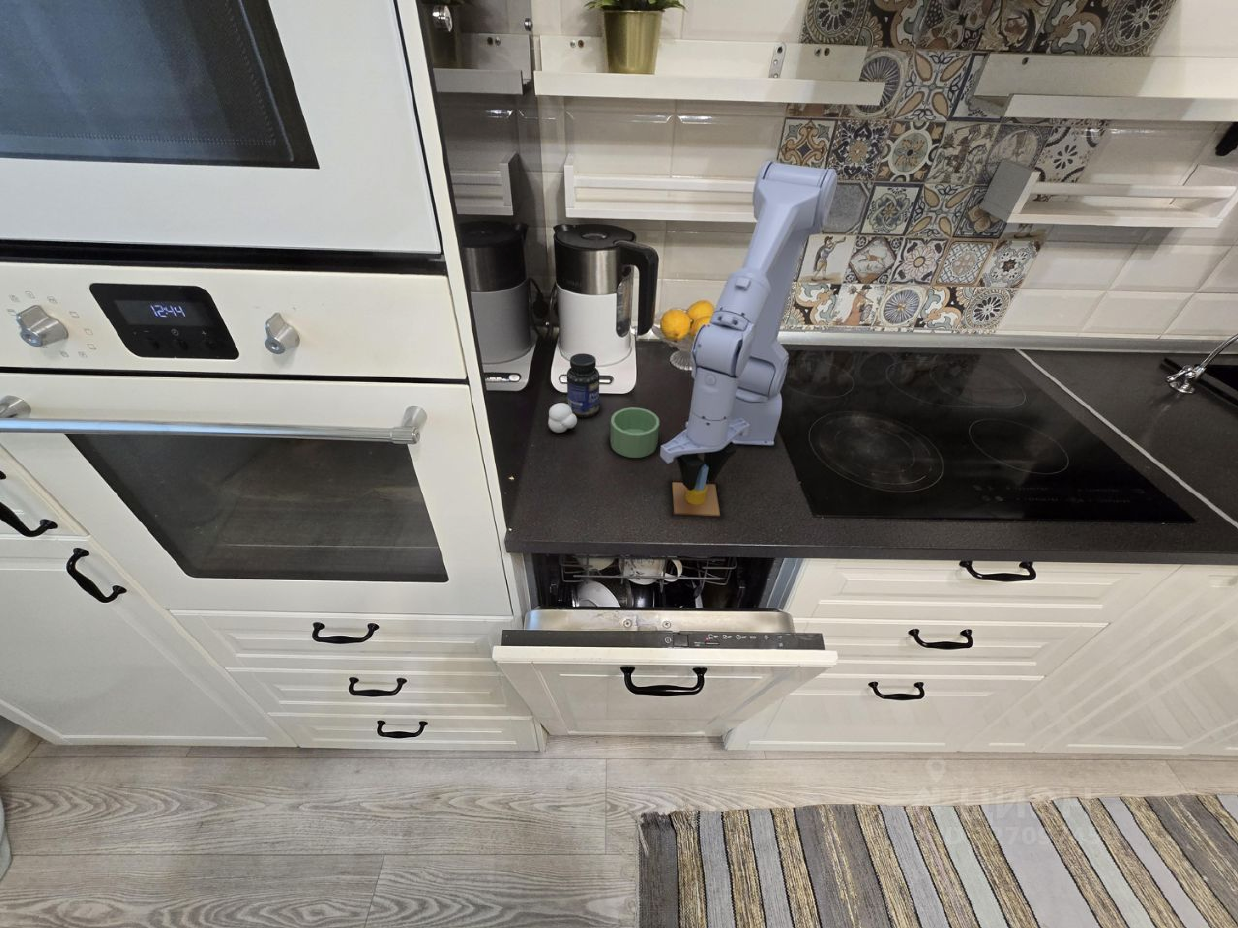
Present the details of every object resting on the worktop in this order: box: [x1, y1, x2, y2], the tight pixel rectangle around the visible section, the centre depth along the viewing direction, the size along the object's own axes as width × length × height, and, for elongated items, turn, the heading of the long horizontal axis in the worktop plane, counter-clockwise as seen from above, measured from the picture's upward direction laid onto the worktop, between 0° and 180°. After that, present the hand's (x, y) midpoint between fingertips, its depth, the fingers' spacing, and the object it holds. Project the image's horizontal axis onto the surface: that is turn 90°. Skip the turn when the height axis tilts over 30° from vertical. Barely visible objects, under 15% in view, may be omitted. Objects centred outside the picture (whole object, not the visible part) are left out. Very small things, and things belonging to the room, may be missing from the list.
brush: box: [685, 464, 709, 505], centre depth 79 cm, size 3×3×7 cm
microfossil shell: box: [547, 402, 578, 434], centre depth 93 cm, size 4×5×6 cm
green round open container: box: [609, 406, 660, 459], centre depth 91 cm, size 8×8×5 cm
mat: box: [671, 482, 721, 517], centre depth 82 cm, size 7×7×1 cm
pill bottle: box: [566, 353, 600, 419], centre depth 97 cm, size 6×6×11 cm
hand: (698, 482), depth 79 cm, fingers open, 3 cm apart
